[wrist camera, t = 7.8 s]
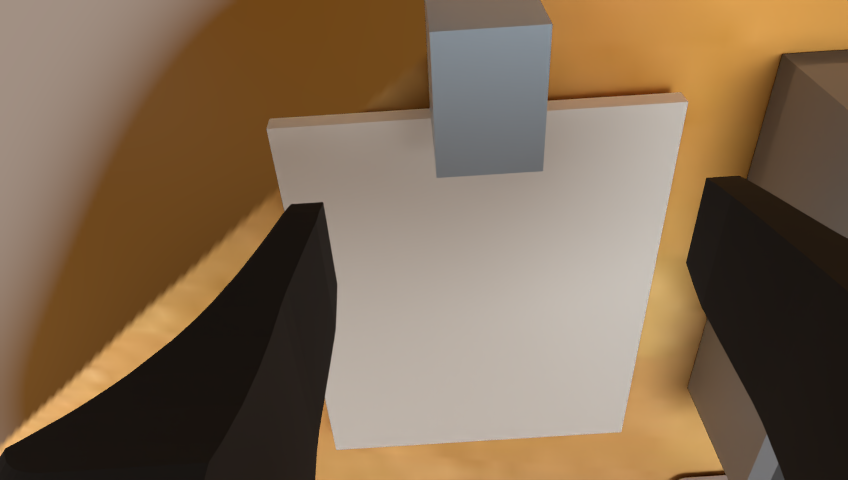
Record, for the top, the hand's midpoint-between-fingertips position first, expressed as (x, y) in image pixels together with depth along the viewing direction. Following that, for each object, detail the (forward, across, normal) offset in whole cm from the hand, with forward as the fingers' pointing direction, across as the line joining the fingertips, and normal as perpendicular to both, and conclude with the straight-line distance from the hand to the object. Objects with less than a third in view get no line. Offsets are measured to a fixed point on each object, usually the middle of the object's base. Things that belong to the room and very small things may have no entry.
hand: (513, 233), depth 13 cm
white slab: (+8, 0, +6) cm, 10 cm away
